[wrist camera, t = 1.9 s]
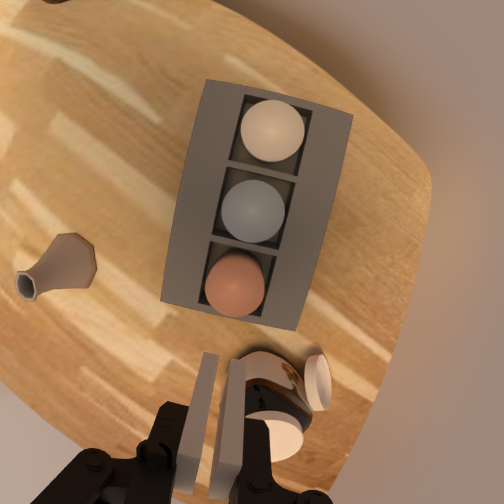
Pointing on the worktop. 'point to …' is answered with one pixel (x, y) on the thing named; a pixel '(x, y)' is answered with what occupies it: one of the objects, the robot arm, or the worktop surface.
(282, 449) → the spread jar
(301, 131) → the button ivory
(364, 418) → the worktop surface
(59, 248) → the flask
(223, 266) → the button terracotta
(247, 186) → the button slate
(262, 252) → the panel
